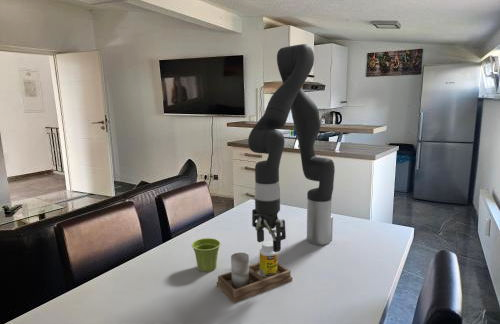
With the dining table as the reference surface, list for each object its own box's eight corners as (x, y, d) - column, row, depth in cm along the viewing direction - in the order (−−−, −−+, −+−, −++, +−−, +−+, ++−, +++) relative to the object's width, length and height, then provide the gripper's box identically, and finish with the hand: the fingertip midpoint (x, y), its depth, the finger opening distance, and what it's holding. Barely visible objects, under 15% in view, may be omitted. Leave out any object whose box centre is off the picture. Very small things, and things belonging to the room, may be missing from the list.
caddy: (271, 266, 113) (271, 238, 111) (292, 280, 104) (292, 250, 102) (216, 285, 102) (215, 254, 100) (233, 303, 93) (232, 269, 91)
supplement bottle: (266, 280, 101) (266, 249, 100) (256, 272, 106) (255, 242, 104) (280, 275, 104) (281, 244, 102) (270, 268, 109) (270, 238, 107)
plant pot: (209, 258, 119) (208, 235, 118) (226, 267, 113) (226, 243, 111) (187, 268, 113) (186, 243, 111) (204, 278, 106) (203, 252, 105)
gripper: (292, 199, 96) (292, 251, 100) (264, 188, 108) (265, 235, 111) (271, 204, 92) (272, 258, 96) (244, 192, 104) (246, 241, 108)
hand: (268, 246), depth 104 cm, fingers open, 8 cm apart
